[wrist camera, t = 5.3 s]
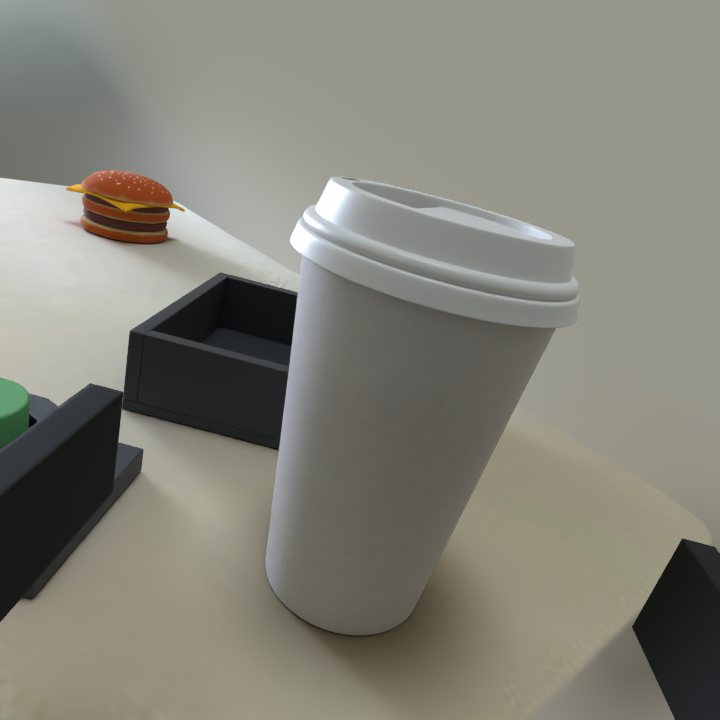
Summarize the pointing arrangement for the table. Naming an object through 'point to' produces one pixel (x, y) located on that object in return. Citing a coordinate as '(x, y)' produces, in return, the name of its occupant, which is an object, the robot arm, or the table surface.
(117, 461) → the panel
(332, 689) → the table surface
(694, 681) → the robot arm
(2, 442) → the button
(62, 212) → the table surface
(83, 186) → the hamburger
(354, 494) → the coffee cup
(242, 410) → the basket
